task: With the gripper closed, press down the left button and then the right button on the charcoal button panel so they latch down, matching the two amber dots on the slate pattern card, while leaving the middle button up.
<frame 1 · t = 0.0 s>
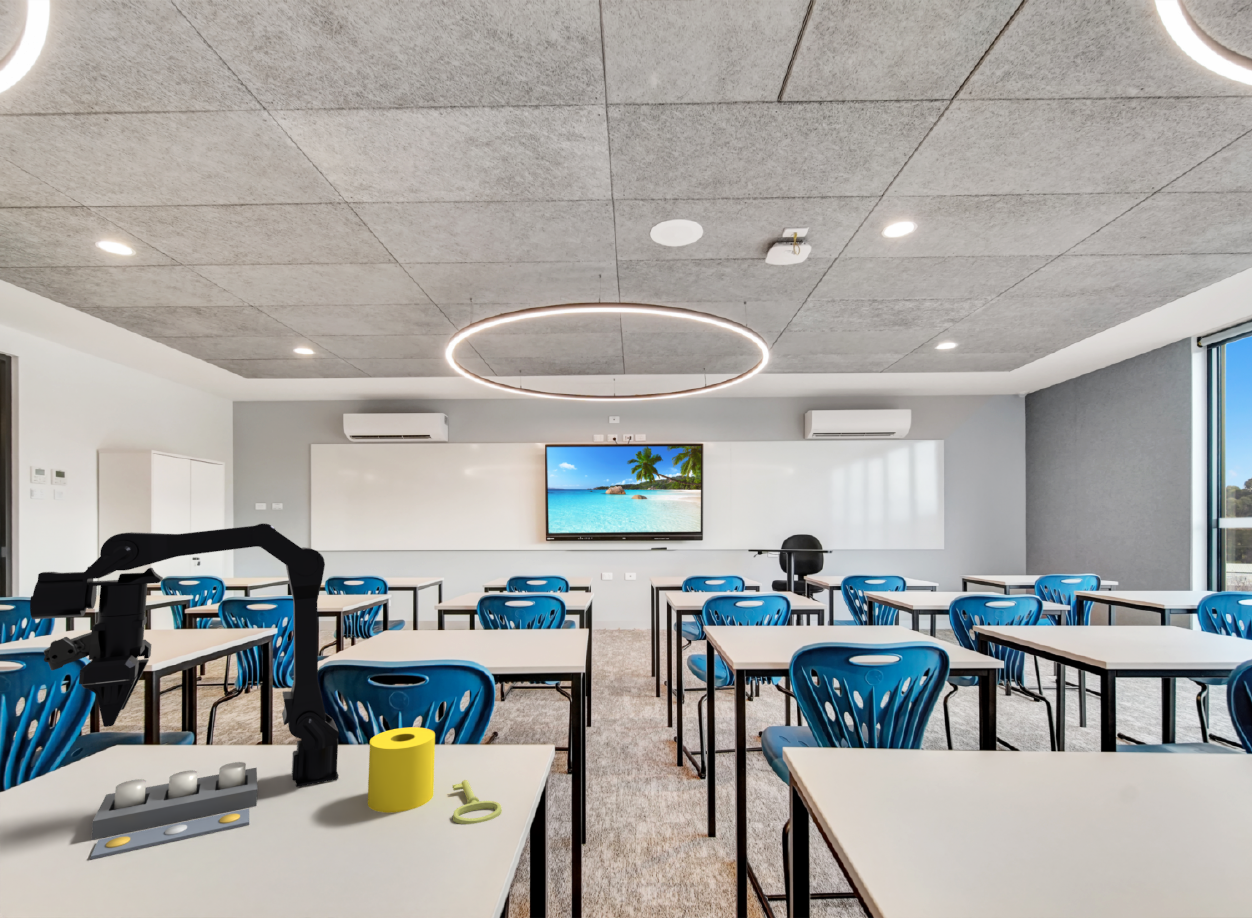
hand: (114, 717, 95), 15 cm above the table, tool pointing down, fingers open, 9 cm apart
button panel: (181, 808, 97), on the table
button 2: (232, 776, 100), point 3 cm above the table, slide at 0.0 cm
button middle: (183, 785, 97), point 3 cm above the table, slide at 0.0 cm
pattern card: (175, 833, 89), on the table
key: (472, 811, 97), on the table
button 1: (130, 794, 94), point 3 cm above the table, slide at 0.0 cm
yellow cylinder with hole: (401, 799, 100), on the table
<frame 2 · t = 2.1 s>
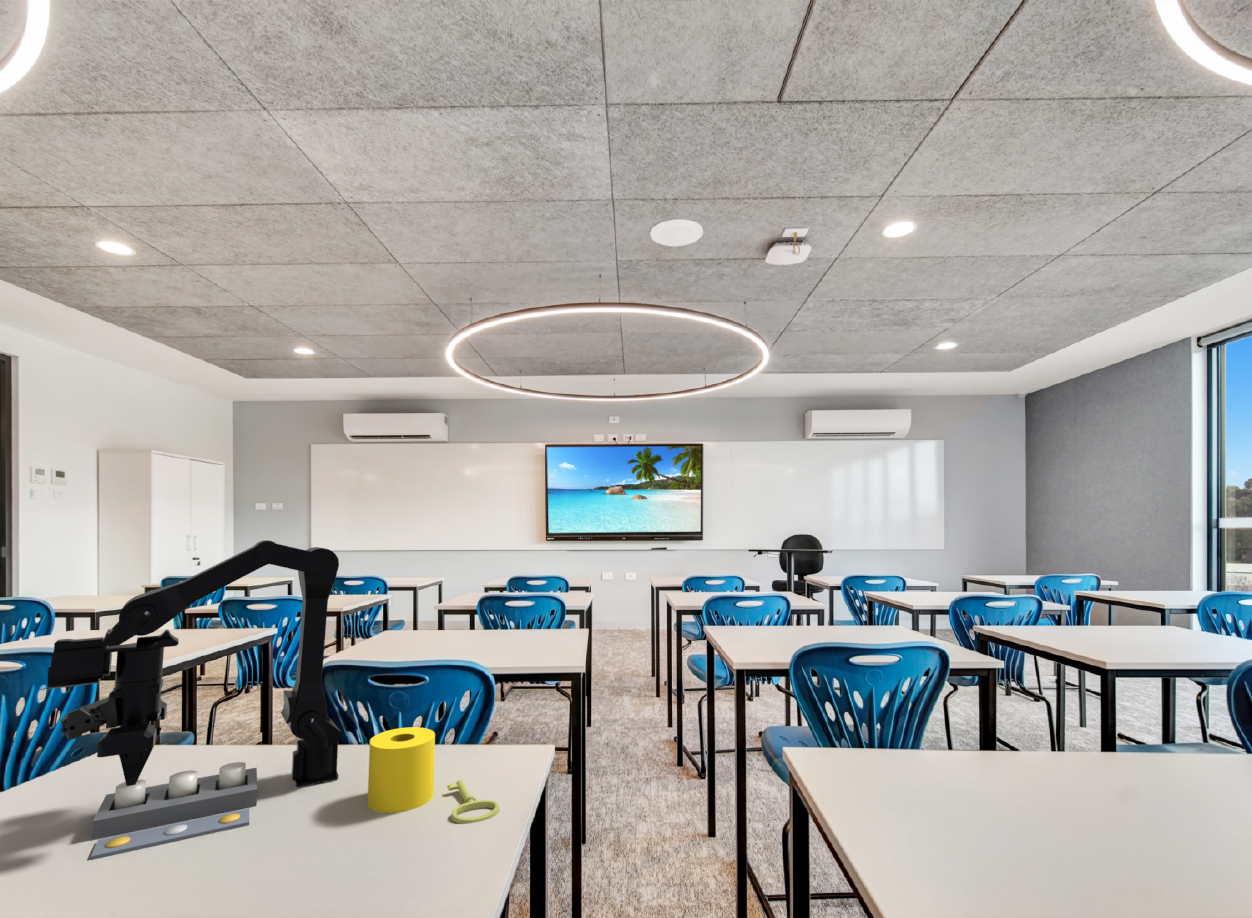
hand: (131, 784, 94), 5 cm above the table, tool pointing down, fingers closed, pressing on button 1
button 1: (130, 794, 94), point 3 cm above the table, slide at 0.0 cm, touching gripper
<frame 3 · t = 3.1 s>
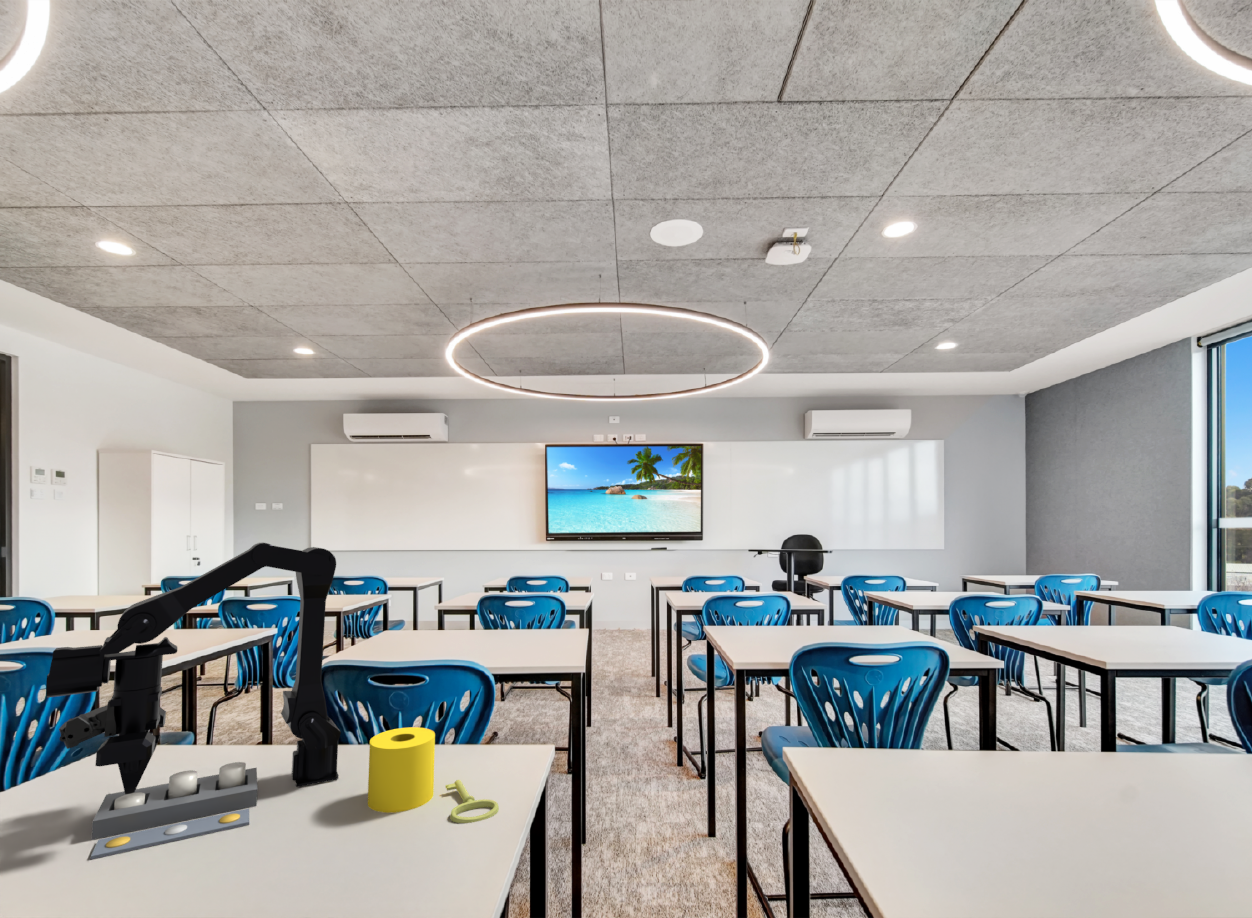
hand: (130, 792, 94), 4 cm above the table, tool pointing down, fingers closed
button 1: (129, 808, 93), point 2 cm above the table, slide at 1.9 cm
everything else where it was.
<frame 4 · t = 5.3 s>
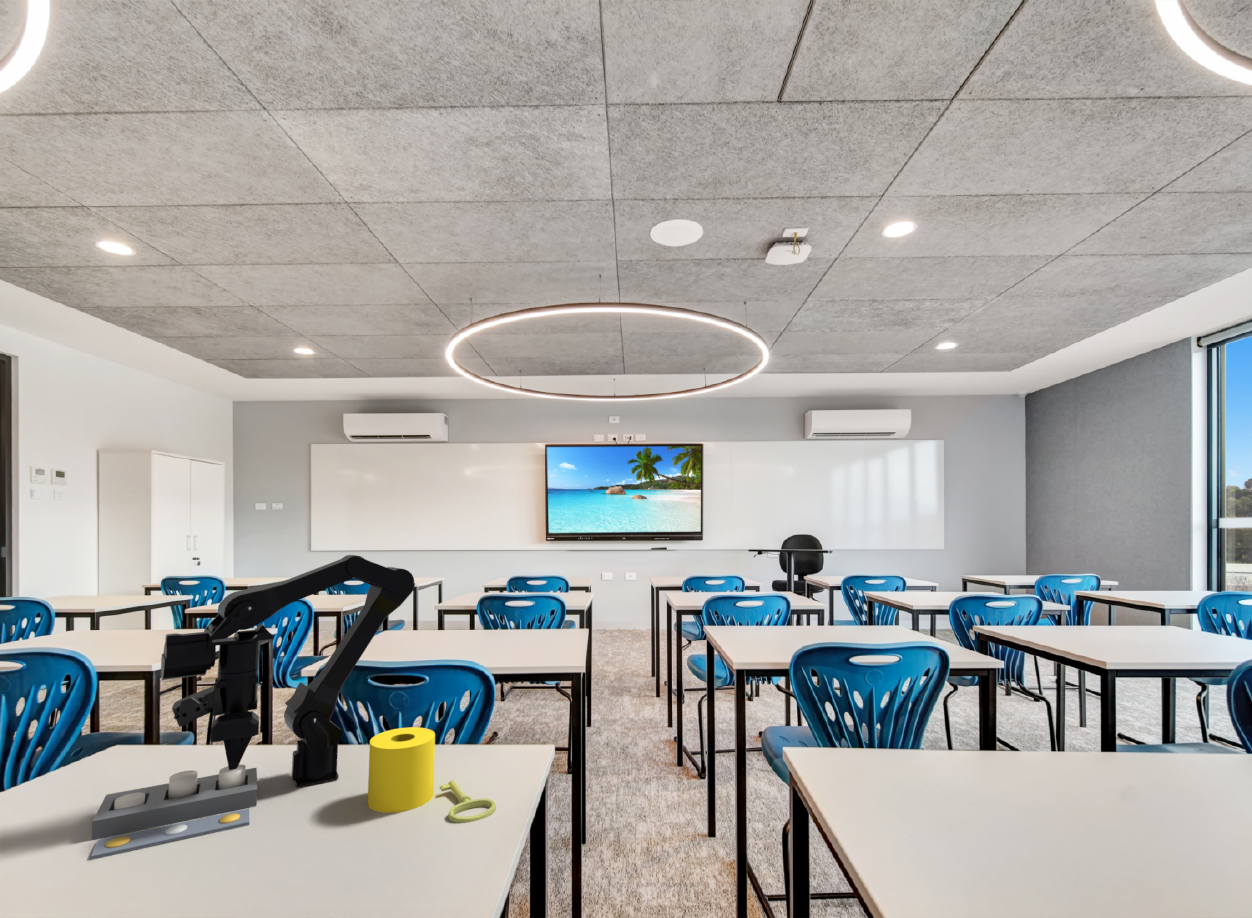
hand: (232, 768, 100), 5 cm above the table, tool pointing down, fingers closed, pressing on button 2
button 2: (232, 778, 100), point 3 cm above the table, slide at 0.4 cm, touching gripper
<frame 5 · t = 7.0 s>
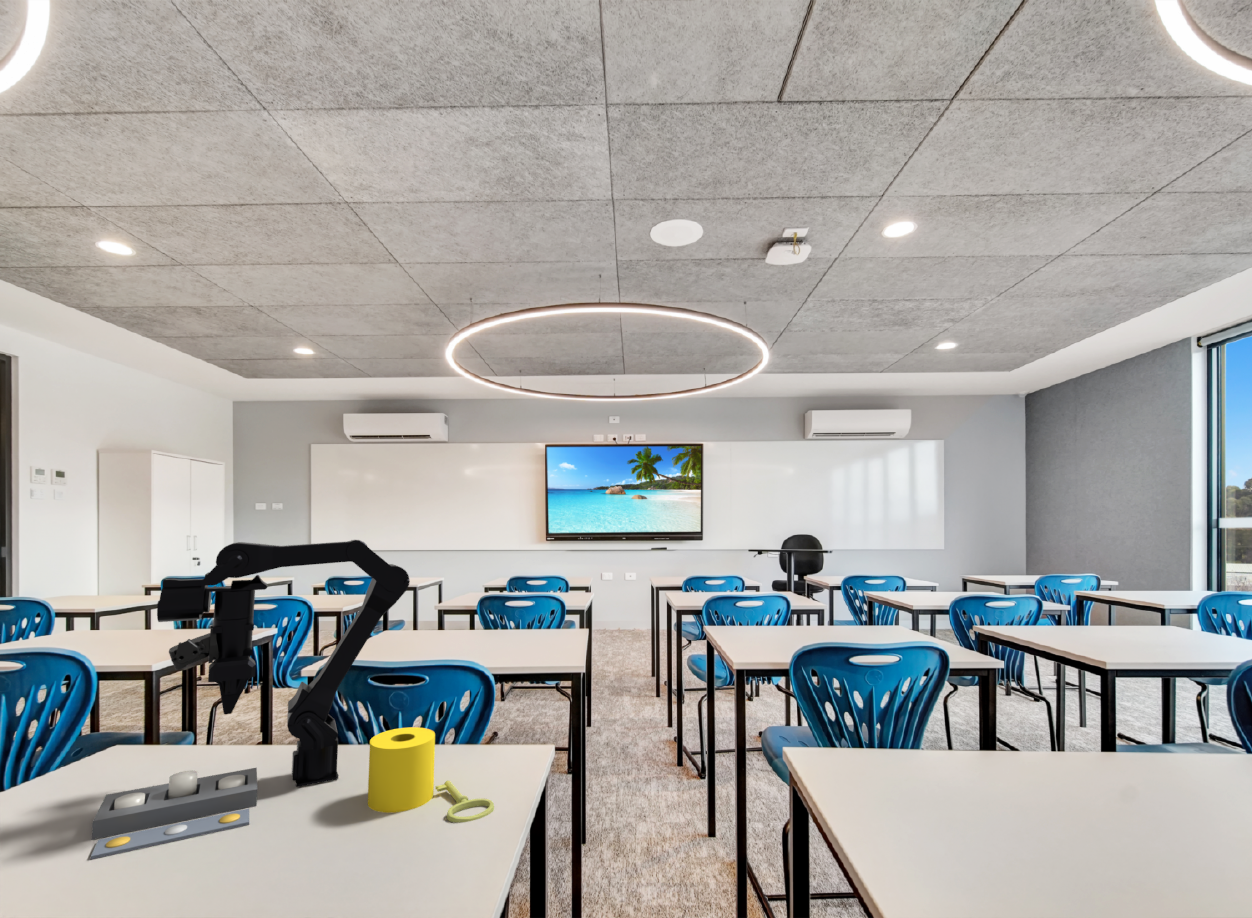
hand: (227, 713, 103), 13 cm above the table, tool pointing down, fingers closed
button 2: (231, 788, 100), point 2 cm above the table, slide at 2.0 cm
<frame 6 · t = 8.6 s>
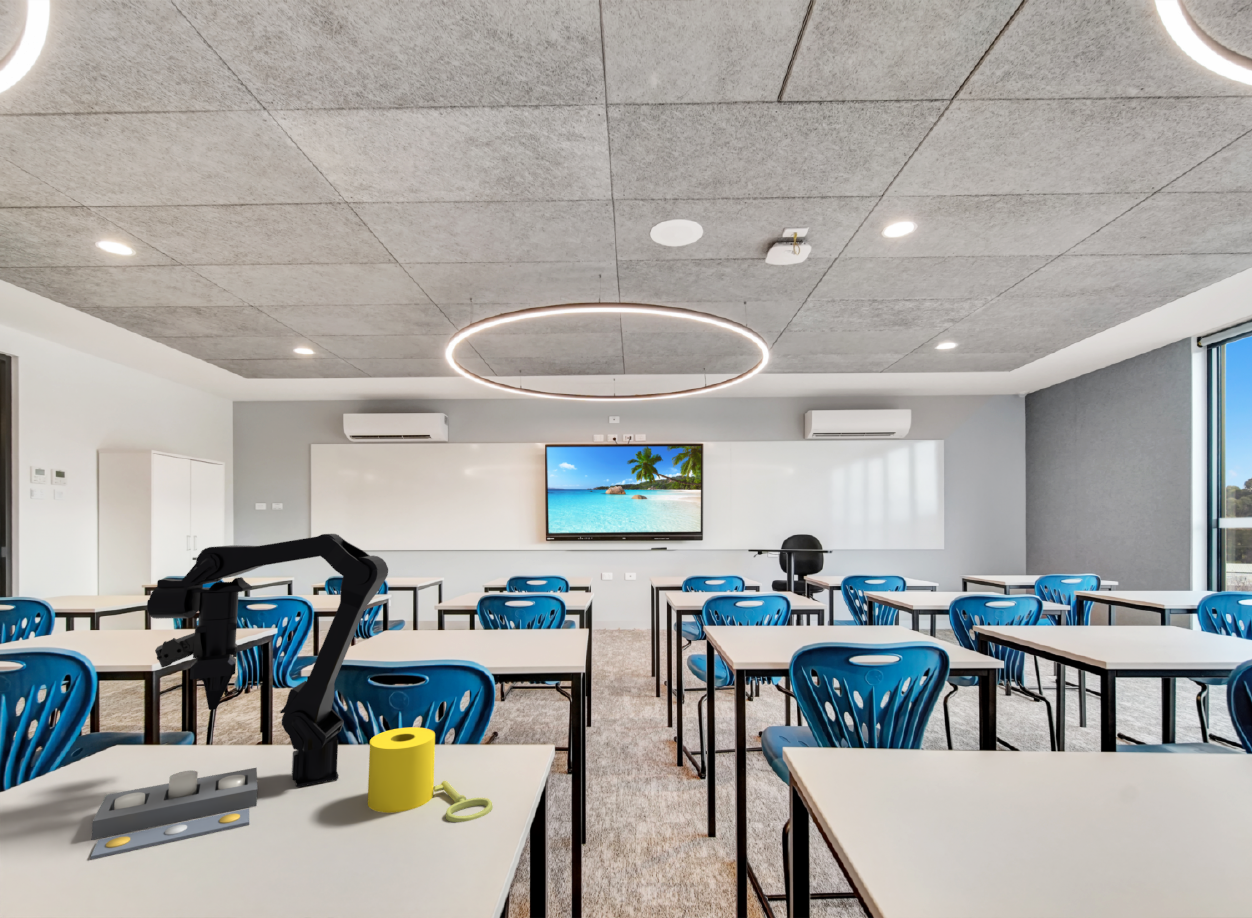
hand: (212, 709, 108), 12 cm above the table, tool pointing down, fingers closed
at the end: button 1 slide at 1.9 cm; button 2 slide at 2.0 cm; button middle slide at 0.0 cm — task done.
